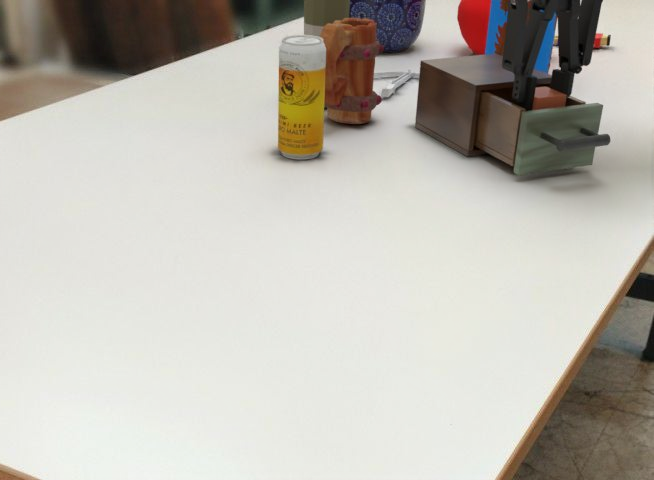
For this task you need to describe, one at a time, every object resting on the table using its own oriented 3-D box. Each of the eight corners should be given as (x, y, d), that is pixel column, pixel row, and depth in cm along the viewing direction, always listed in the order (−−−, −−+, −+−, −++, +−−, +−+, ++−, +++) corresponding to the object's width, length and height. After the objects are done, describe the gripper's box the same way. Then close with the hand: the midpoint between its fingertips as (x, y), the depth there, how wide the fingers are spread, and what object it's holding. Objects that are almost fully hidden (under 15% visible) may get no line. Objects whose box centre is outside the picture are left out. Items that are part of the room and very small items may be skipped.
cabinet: (545, 146, 131) (556, 76, 125) (467, 157, 126) (476, 85, 121) (487, 118, 142) (495, 53, 137) (414, 127, 138) (420, 60, 133)
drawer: (617, 177, 117) (630, 115, 113) (541, 188, 114) (552, 125, 110) (531, 135, 132) (539, 79, 128) (461, 144, 128) (468, 86, 124)
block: (561, 129, 120) (566, 94, 118) (532, 132, 119) (537, 98, 117) (540, 119, 124) (546, 86, 122) (512, 123, 123) (517, 89, 120)
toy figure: (544, 36, 184) (608, 37, 179) (550, 29, 189) (612, 30, 185) (543, 49, 185) (607, 51, 181) (549, 42, 190) (610, 43, 186)
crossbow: (374, 77, 166) (375, 65, 165) (444, 84, 162) (445, 72, 161) (347, 93, 152) (348, 80, 151) (423, 102, 148) (424, 88, 148)
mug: (340, 109, 146) (344, 7, 138) (387, 117, 142) (395, 13, 134) (293, 133, 135) (295, 24, 127) (343, 142, 131) (348, 31, 123)
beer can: (269, 155, 126) (269, 40, 118) (293, 143, 131) (295, 32, 123) (307, 163, 123) (310, 46, 116) (330, 152, 128) (335, 38, 120)
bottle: (298, 109, 145) (303, -107, 130) (303, 97, 151) (308, -111, 135) (343, 111, 144) (353, -106, 129) (347, 99, 150) (357, -110, 135)
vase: (500, 40, 189) (514, -64, 178) (572, 58, 176) (590, -52, 166) (433, 51, 180) (443, -57, 170) (503, 71, 167) (518, -45, 157)
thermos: (508, 74, 165) (529, -82, 152) (559, 87, 158) (585, -76, 145) (468, 84, 159) (486, -78, 146) (518, 98, 152) (542, -72, 139)
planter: (433, 43, 186) (441, -38, 178) (403, 60, 173) (410, -26, 165) (357, 34, 192) (361, -44, 184) (322, 50, 180) (325, -33, 172)
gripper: (606, -80, 115) (574, 110, 127) (485, -75, 109) (464, 123, 121) (648, -74, 109) (610, 125, 121) (523, -68, 103) (496, 140, 116)
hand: (537, 124), depth 121 cm, fingers closed on block, 4 cm apart
